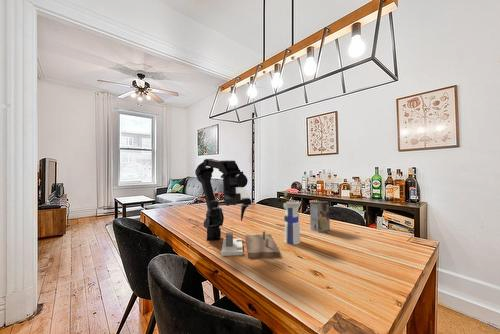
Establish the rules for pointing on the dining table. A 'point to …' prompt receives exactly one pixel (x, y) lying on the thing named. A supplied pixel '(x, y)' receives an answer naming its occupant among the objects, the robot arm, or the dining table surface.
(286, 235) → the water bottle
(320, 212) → the coffee box
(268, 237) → the peg board
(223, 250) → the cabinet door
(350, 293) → the dining table surface
